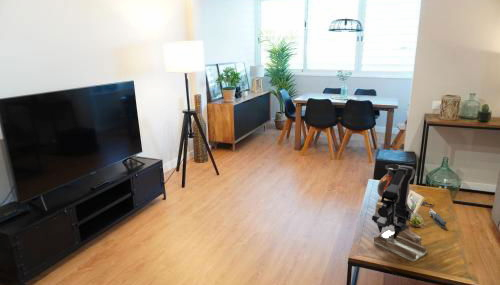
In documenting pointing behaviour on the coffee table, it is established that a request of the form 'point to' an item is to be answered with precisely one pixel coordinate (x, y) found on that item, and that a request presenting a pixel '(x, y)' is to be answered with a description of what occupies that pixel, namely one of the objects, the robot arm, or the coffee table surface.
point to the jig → (402, 247)
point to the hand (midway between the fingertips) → (387, 235)
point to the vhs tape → (426, 203)
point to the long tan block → (410, 236)
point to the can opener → (438, 219)
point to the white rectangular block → (387, 236)
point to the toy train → (379, 204)
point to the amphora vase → (388, 180)
